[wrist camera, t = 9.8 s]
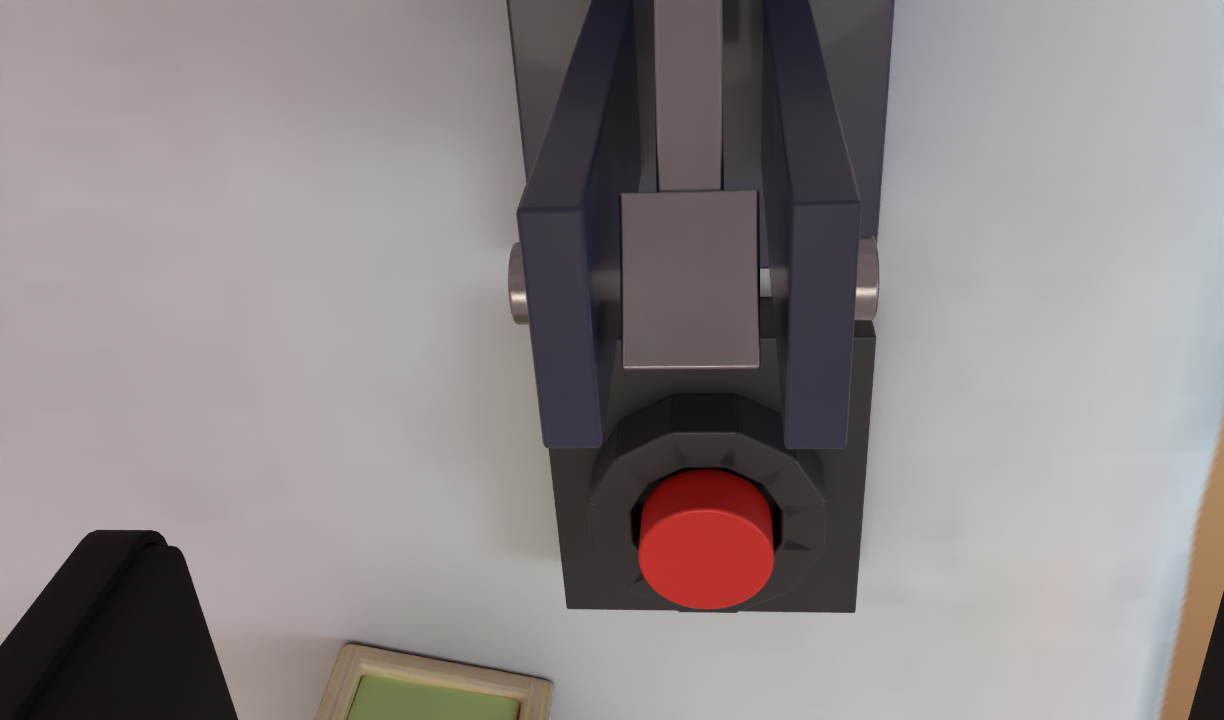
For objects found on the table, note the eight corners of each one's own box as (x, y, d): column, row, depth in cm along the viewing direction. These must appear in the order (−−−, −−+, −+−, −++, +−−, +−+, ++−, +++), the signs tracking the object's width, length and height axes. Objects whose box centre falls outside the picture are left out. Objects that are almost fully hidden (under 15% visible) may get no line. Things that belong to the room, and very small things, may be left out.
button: (638, 467, 30) (634, 508, 29) (772, 467, 30) (775, 509, 28) (644, 565, 32) (641, 609, 31) (770, 567, 32) (773, 611, 30)
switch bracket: (500, -135, 26) (345, 22, 15) (898, -156, 25) (1036, -6, 14) (541, 253, 31) (448, 573, 20) (870, 247, 30) (955, 579, 19)
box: (546, 300, 32) (526, 377, 29) (867, 295, 31) (885, 374, 28) (574, 562, 37) (559, 652, 34) (848, 564, 36) (861, 658, 33)
